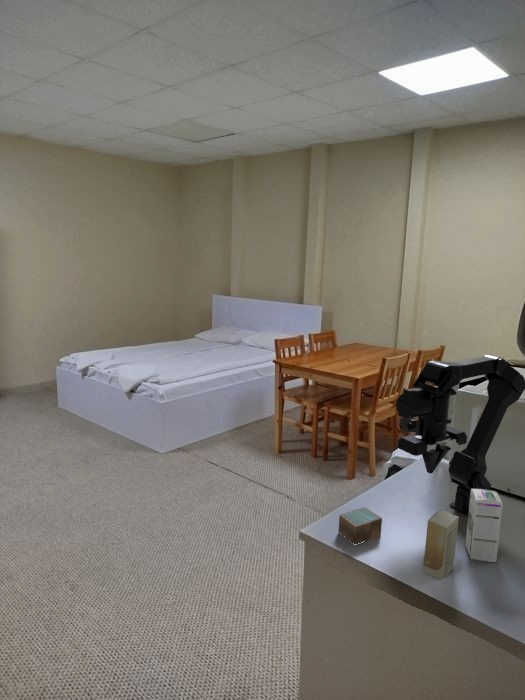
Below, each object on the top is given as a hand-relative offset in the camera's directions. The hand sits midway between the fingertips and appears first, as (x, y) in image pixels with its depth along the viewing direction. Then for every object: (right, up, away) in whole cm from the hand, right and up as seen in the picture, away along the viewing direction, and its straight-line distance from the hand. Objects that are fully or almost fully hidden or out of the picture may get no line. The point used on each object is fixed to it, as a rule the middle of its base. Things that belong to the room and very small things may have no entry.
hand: (429, 472), depth 122 cm
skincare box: (-4, -17, -17) cm, 24 cm away
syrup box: (+8, -16, -11) cm, 21 cm away
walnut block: (-15, -11, -3) cm, 19 cm away
